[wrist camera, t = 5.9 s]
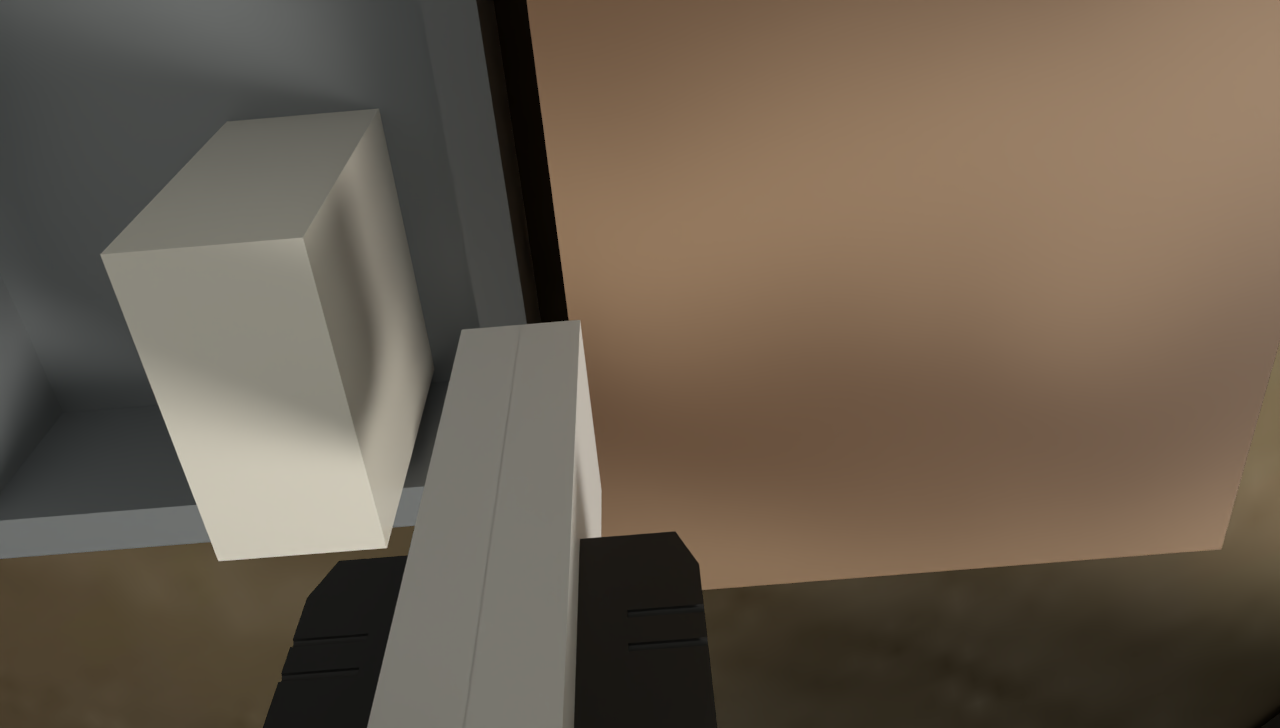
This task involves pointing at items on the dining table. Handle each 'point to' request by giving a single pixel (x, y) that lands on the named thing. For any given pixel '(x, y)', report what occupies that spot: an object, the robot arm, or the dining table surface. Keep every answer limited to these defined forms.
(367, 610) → the robot arm
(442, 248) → the tray
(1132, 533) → the walnut riser
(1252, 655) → the dining table surface
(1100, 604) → the dining table surface
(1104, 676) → the dining table surface
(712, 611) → the dining table surface
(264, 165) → the cream tile
